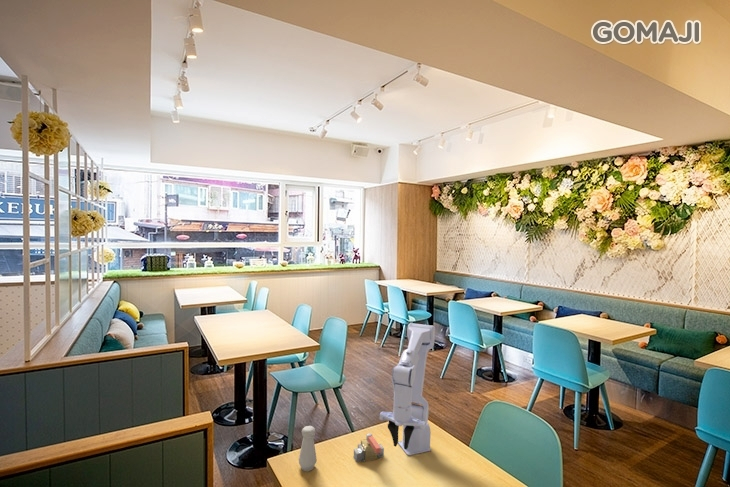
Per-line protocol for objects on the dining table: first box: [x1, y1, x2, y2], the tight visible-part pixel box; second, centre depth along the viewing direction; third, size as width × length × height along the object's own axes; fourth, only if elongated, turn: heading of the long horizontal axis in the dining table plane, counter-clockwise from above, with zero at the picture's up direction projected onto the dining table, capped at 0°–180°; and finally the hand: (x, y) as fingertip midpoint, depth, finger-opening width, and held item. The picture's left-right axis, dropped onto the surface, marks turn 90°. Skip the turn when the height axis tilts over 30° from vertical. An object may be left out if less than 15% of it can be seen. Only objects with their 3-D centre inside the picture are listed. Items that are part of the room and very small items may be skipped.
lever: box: [365, 432, 381, 453], centre depth 120 cm, size 9×2×2 cm, turn 21°
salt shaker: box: [298, 425, 317, 472], centre depth 117 cm, size 6×6×13 cm
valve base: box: [353, 438, 385, 463], centre depth 124 cm, size 10×4×6 cm, turn 111°
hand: (401, 446), depth 115 cm, fingers open, 3 cm apart
